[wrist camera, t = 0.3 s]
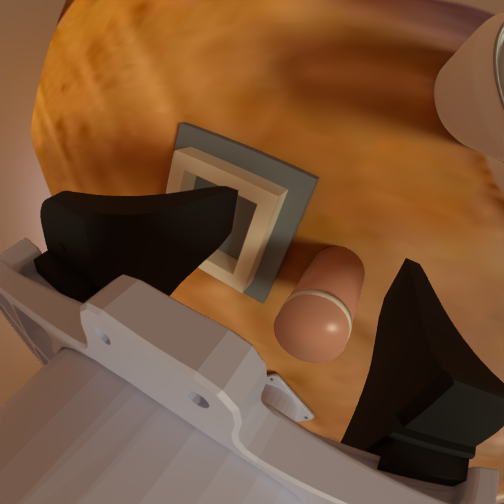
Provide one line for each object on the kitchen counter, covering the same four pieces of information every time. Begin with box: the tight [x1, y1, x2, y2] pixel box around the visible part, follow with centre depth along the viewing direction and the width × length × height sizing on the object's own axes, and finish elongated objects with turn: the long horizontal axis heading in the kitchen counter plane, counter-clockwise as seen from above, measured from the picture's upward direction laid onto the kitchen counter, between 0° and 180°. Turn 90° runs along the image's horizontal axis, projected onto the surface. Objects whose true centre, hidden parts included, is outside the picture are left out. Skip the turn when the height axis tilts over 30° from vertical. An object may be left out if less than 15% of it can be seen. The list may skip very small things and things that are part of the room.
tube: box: [274, 246, 365, 363], centre depth 20 cm, size 4×4×8 cm
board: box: [165, 122, 319, 303], centre depth 25 cm, size 12×12×3 cm
